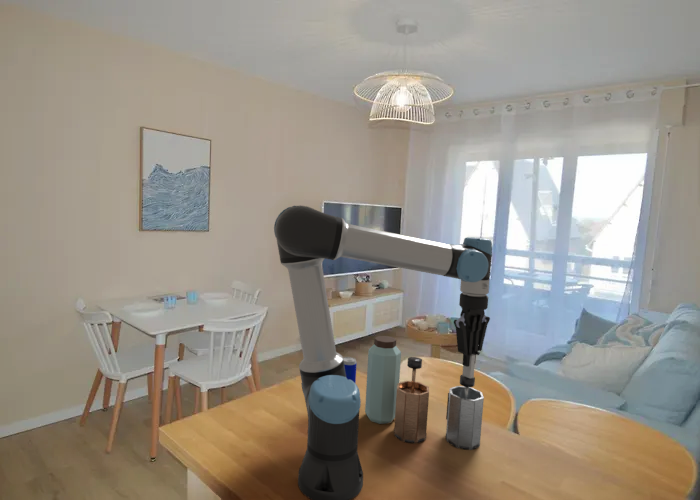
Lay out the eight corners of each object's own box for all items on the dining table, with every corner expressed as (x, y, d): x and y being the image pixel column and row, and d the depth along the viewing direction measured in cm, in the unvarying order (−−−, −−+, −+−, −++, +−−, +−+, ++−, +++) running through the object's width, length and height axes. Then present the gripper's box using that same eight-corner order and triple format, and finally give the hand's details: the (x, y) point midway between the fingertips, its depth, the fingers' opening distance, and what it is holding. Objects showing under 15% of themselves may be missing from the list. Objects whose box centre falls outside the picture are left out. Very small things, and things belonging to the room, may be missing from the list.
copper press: (409, 446, 113) (412, 397, 111) (384, 429, 121) (387, 383, 120) (433, 437, 118) (436, 390, 117) (408, 421, 126) (411, 377, 125)
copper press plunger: (412, 402, 113) (414, 365, 112) (396, 393, 119) (398, 357, 118) (429, 397, 117) (431, 361, 116) (412, 388, 123) (415, 354, 122)
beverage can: (336, 401, 138) (338, 357, 136) (350, 398, 140) (352, 355, 139) (342, 407, 133) (344, 362, 132) (356, 405, 135) (359, 361, 134)
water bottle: (396, 411, 133) (401, 335, 130) (397, 427, 123) (402, 345, 121) (365, 408, 134) (370, 333, 131) (363, 423, 124) (368, 342, 122)
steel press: (464, 453, 111) (468, 403, 110) (436, 435, 119) (439, 388, 118) (486, 443, 116) (490, 395, 115) (458, 427, 125) (461, 382, 123)
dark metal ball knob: (466, 421, 112) (469, 383, 111) (447, 411, 117) (450, 375, 116) (481, 415, 116) (484, 379, 115) (463, 406, 121) (465, 371, 120)
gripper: (469, 298, 107) (463, 386, 109) (500, 294, 114) (493, 376, 116) (447, 292, 113) (441, 376, 115) (478, 289, 120) (472, 367, 122)
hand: (468, 376), depth 116 cm, fingers closed
